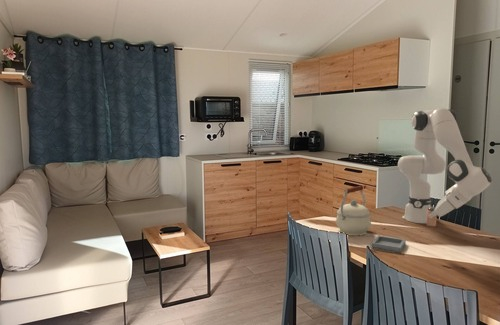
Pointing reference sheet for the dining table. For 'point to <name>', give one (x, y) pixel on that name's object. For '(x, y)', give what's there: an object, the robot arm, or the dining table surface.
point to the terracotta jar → (431, 220)
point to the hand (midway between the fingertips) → (430, 215)
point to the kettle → (353, 215)
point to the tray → (388, 244)
